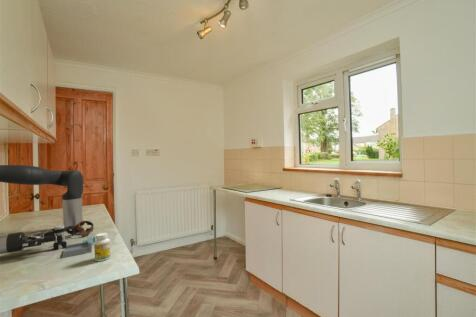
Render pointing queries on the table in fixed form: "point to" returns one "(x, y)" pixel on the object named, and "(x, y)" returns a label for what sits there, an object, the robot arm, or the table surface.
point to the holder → (78, 248)
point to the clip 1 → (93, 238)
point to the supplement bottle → (102, 247)
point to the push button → (59, 237)
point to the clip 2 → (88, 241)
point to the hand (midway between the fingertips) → (57, 235)
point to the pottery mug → (80, 228)
